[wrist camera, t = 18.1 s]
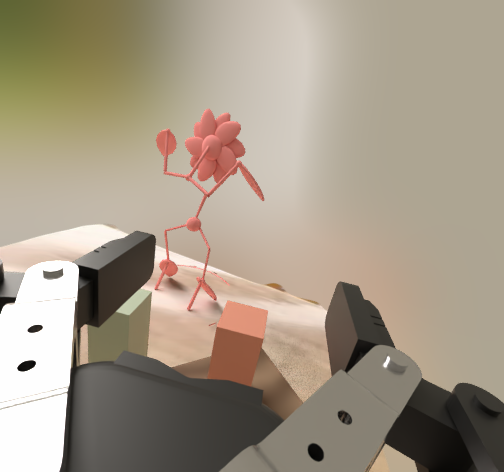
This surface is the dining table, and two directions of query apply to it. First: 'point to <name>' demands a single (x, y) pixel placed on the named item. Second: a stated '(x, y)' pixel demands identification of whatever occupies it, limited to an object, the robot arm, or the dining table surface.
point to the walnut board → (256, 383)
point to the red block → (237, 343)
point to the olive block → (122, 330)
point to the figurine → (206, 172)
